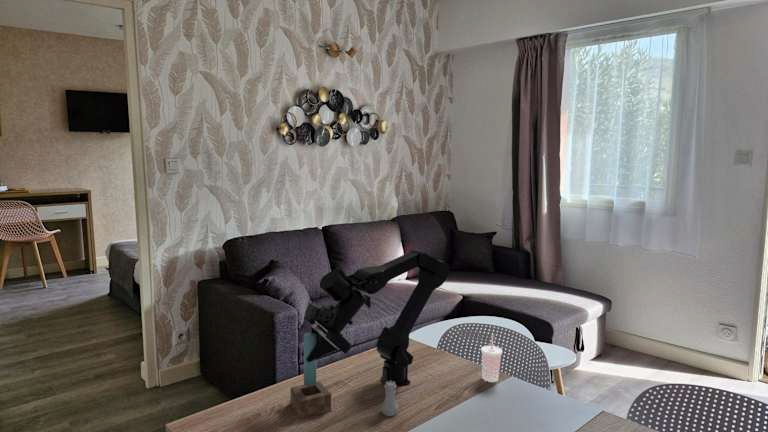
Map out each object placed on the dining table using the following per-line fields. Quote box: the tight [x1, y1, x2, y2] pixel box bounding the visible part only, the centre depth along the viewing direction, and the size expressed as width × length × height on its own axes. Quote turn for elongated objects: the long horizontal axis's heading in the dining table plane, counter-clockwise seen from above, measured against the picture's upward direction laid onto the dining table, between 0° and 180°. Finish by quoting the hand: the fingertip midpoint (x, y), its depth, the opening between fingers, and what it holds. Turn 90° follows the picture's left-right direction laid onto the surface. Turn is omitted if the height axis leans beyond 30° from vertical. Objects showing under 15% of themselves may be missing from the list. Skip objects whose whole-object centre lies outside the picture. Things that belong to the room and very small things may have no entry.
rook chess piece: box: [380, 381, 399, 417], centre depth 129 cm, size 4×4×8 cm
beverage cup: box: [480, 332, 503, 383], centre depth 148 cm, size 6×6×14 cm
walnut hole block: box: [290, 380, 332, 419], centre depth 130 cm, size 8×8×4 cm
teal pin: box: [303, 332, 317, 387], centre depth 129 cm, size 3×3×13 cm
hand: (304, 358), depth 128 cm, fingers closed on teal pin, 3 cm apart
